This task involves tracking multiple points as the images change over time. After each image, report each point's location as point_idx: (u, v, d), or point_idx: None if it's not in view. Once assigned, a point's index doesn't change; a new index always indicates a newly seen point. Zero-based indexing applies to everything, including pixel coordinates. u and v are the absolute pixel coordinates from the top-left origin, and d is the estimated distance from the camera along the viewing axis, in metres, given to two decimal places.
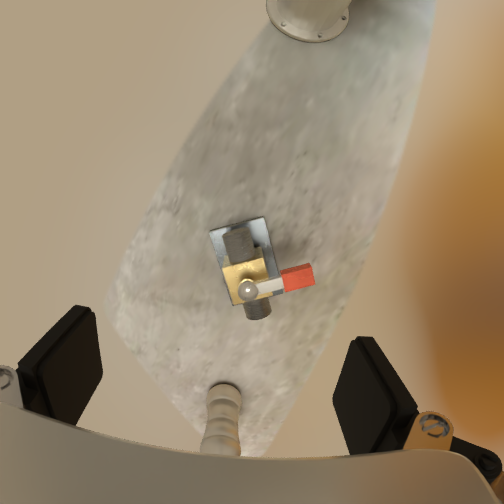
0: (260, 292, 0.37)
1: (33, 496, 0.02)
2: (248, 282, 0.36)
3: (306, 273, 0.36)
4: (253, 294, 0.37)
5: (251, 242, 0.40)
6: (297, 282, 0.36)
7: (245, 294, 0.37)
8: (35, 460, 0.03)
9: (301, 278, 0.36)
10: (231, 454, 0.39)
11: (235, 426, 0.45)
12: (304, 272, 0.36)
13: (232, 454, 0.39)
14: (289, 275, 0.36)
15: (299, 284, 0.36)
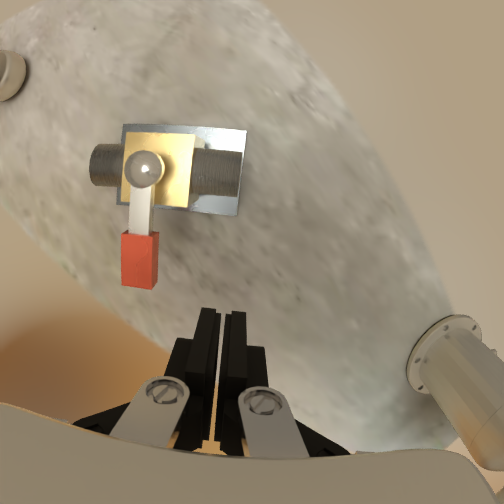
0: (133, 190, 0.19)
1: (33, 496, 0.02)
2: (158, 175, 0.18)
3: (143, 278, 0.20)
4: (134, 177, 0.18)
5: (215, 194, 0.24)
6: (132, 258, 0.20)
7: (139, 163, 0.18)
8: (35, 460, 0.03)
9: (136, 268, 0.20)
10: None
11: None
12: (145, 275, 0.20)
13: None
14: (148, 251, 0.19)
15: (127, 261, 0.20)
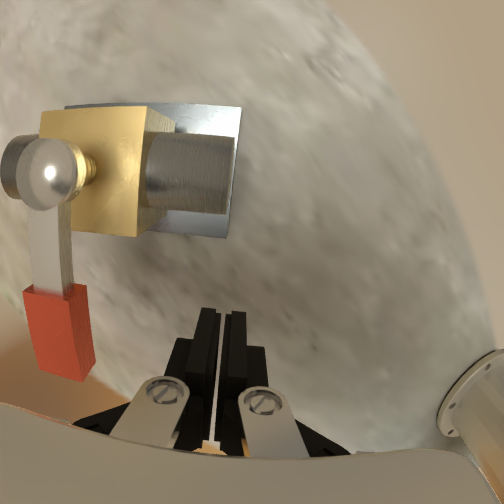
0: (32, 214, 0.09)
1: (33, 496, 0.02)
2: (68, 185, 0.08)
3: (66, 364, 0.10)
4: (30, 190, 0.08)
5: (187, 210, 0.14)
6: (44, 333, 0.10)
7: (36, 163, 0.08)
8: (35, 460, 0.03)
9: (54, 348, 0.10)
10: None
11: None
12: (69, 361, 0.10)
13: None
14: (65, 324, 0.09)
15: (38, 336, 0.10)
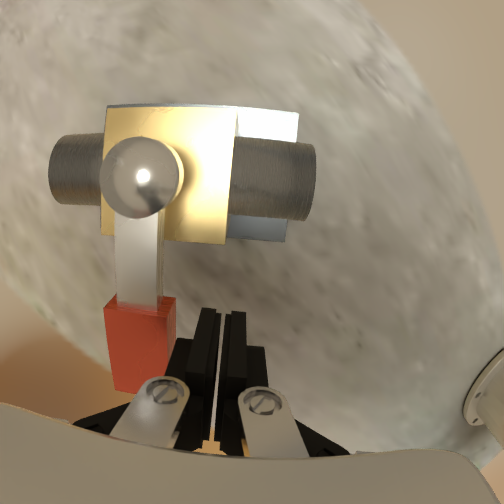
0: (121, 222, 0.09)
1: (33, 496, 0.02)
2: (173, 191, 0.09)
3: None
4: (121, 195, 0.08)
5: (267, 216, 0.14)
6: (129, 352, 0.10)
7: (130, 164, 0.08)
8: (35, 460, 0.03)
9: (139, 367, 0.10)
10: None
11: None
12: None
13: None
14: (159, 341, 0.10)
15: (120, 355, 0.10)
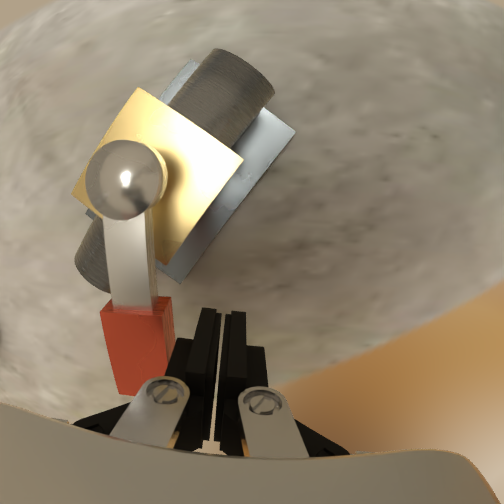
0: (109, 225, 0.09)
1: (33, 496, 0.02)
2: (157, 190, 0.09)
3: None
4: (107, 198, 0.09)
5: (250, 117, 0.13)
6: (129, 354, 0.10)
7: (113, 168, 0.08)
8: (35, 460, 0.03)
9: (140, 369, 0.10)
10: None
11: None
12: None
13: None
14: (157, 341, 0.10)
15: (120, 358, 0.10)
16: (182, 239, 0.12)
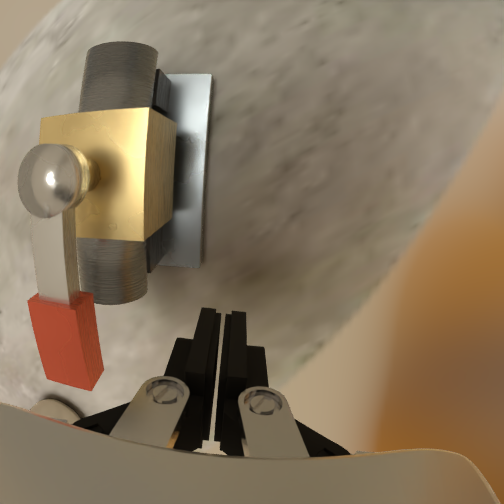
0: (35, 222, 0.09)
1: (33, 496, 0.02)
2: (72, 191, 0.08)
3: (75, 373, 0.10)
4: (33, 197, 0.08)
5: (145, 79, 0.12)
6: (51, 343, 0.09)
7: (39, 169, 0.08)
8: (35, 460, 0.03)
9: (61, 358, 0.10)
10: None
11: None
12: (77, 370, 0.10)
13: None
14: (73, 333, 0.09)
15: (45, 345, 0.09)
16: (141, 207, 0.11)
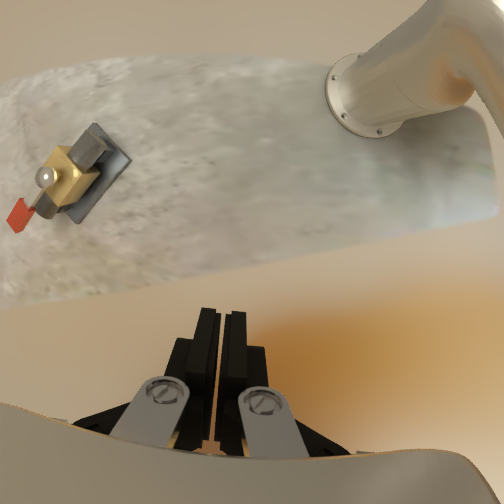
0: (35, 183, 0.28)
1: (33, 496, 0.02)
2: (47, 186, 0.28)
3: (15, 225, 0.29)
4: (38, 178, 0.28)
5: (93, 157, 0.32)
6: (16, 213, 0.28)
7: (44, 173, 0.28)
8: (35, 460, 0.03)
9: (15, 219, 0.28)
10: None
11: None
12: (17, 225, 0.29)
13: None
14: (24, 216, 0.28)
15: (14, 212, 0.28)
16: (63, 198, 0.31)
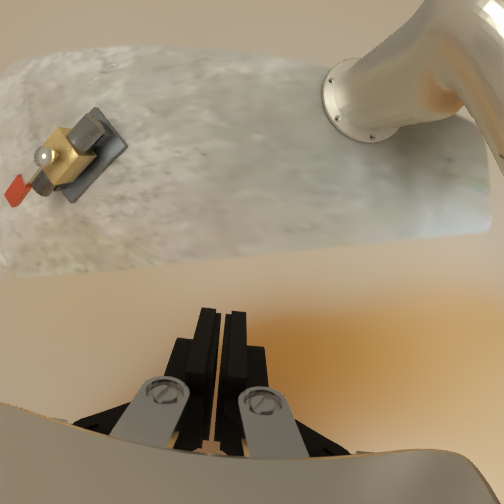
0: (33, 161, 0.29)
1: (33, 496, 0.02)
2: (44, 165, 0.29)
3: (12, 200, 0.30)
4: (37, 157, 0.28)
5: (90, 140, 0.33)
6: (14, 188, 0.29)
7: (42, 153, 0.28)
8: (35, 460, 0.03)
9: (13, 193, 0.29)
10: None
11: None
12: (13, 200, 0.30)
13: None
14: (20, 191, 0.29)
15: (12, 187, 0.29)
16: (59, 177, 0.32)
